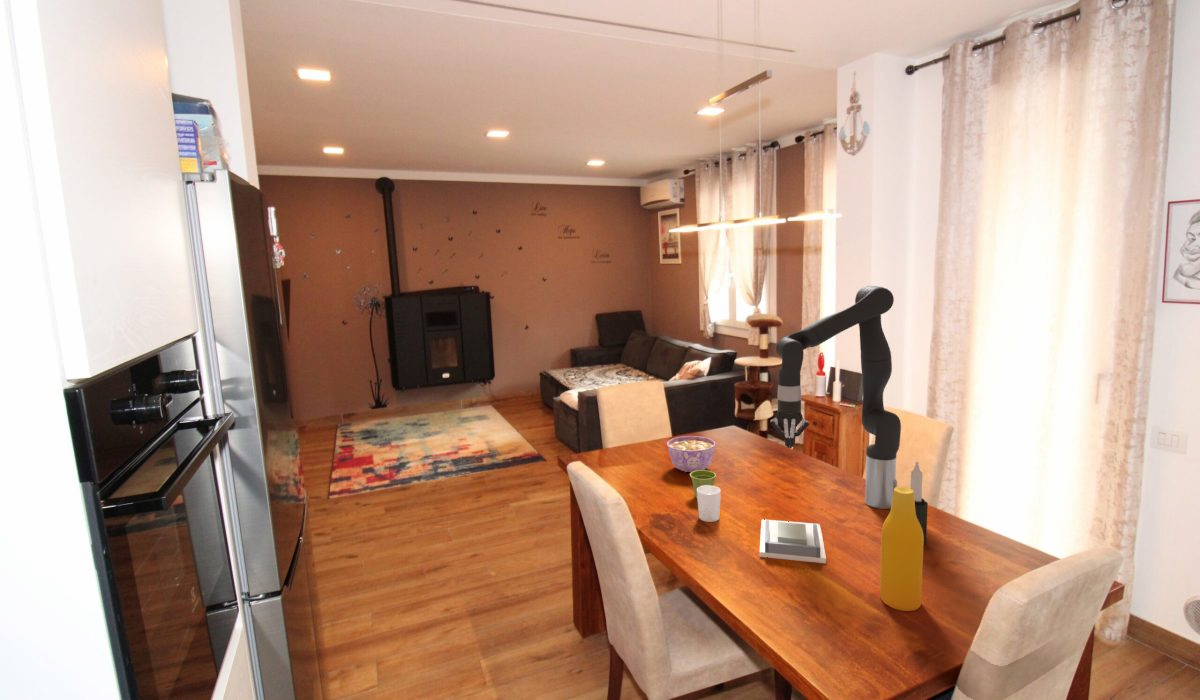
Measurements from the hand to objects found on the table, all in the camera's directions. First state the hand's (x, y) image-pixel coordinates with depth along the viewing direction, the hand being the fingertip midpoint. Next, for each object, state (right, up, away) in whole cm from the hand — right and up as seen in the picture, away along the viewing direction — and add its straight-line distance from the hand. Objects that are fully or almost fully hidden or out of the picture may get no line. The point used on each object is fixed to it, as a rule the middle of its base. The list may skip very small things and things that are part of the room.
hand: (789, 447), depth 192 cm
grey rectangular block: (-7, -24, -22) cm, 34 cm away
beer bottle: (+10, -30, -51) cm, 60 cm away
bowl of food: (-26, -17, +45) cm, 54 cm away
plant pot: (-26, -21, +17) cm, 38 cm away
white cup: (-27, -24, 0) cm, 36 cm away
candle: (+30, -24, -23) cm, 45 cm away
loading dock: (-6, -25, -18) cm, 31 cm away
